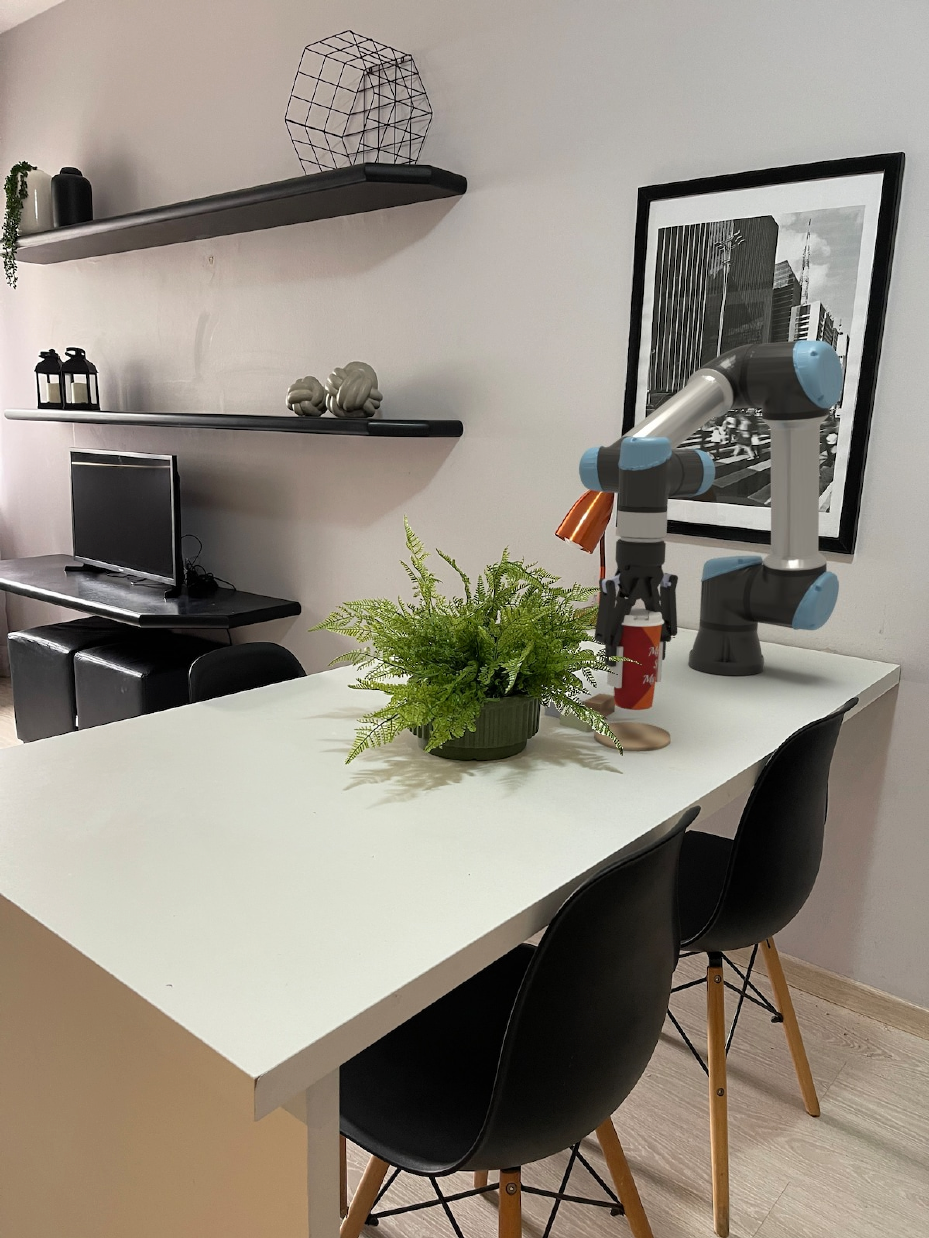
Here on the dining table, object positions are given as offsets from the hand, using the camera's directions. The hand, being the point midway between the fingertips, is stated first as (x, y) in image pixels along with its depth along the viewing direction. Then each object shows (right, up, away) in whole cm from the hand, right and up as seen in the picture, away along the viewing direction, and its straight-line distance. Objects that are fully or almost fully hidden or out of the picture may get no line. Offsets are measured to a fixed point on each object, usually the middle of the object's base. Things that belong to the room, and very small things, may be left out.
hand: (634, 682), depth 150 cm
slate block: (-10, -7, +14) cm, 18 cm away
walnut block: (-3, -7, +15) cm, 16 cm away
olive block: (-8, -8, +8) cm, 14 cm away
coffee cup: (0, -4, +1) cm, 4 cm away
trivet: (0, -9, +2) cm, 9 cm away
